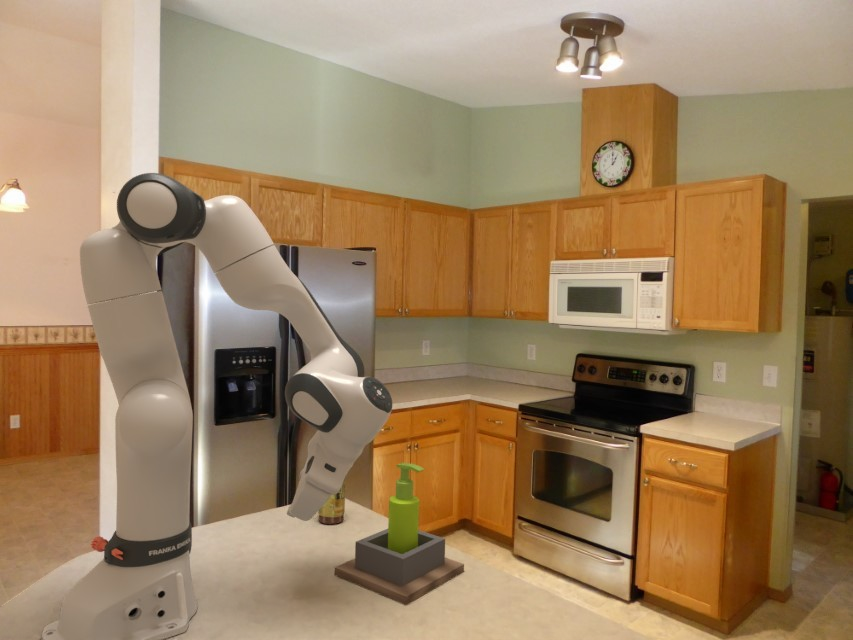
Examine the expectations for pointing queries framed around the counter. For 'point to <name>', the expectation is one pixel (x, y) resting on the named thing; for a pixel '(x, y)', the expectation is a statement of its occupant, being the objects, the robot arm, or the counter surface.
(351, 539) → the counter surface
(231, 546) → the counter surface
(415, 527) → the soap dispenser
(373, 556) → the collar board
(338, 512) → the sauce bottle
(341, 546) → the counter surface
